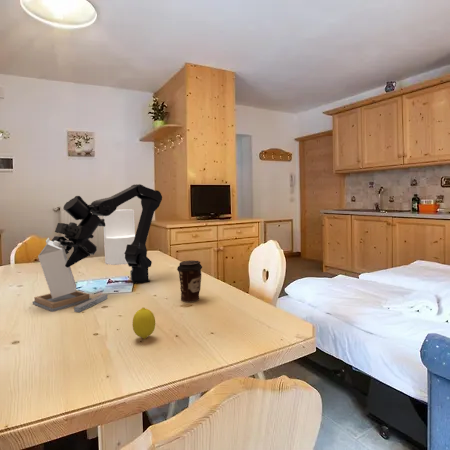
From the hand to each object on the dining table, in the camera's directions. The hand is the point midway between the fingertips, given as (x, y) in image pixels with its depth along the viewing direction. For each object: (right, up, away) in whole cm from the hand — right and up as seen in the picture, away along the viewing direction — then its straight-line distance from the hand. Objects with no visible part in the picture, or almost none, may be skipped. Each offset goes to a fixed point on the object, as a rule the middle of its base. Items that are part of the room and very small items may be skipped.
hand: (58, 265), depth 112 cm
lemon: (+35, -15, -28) cm, 47 cm away
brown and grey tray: (0, -13, +3) cm, 13 cm away
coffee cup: (+44, -12, +3) cm, 45 cm away
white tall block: (-1, -7, +73) cm, 74 cm away
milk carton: (+1, -10, +2) cm, 10 cm away
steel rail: (+11, -13, 0) cm, 17 cm away
